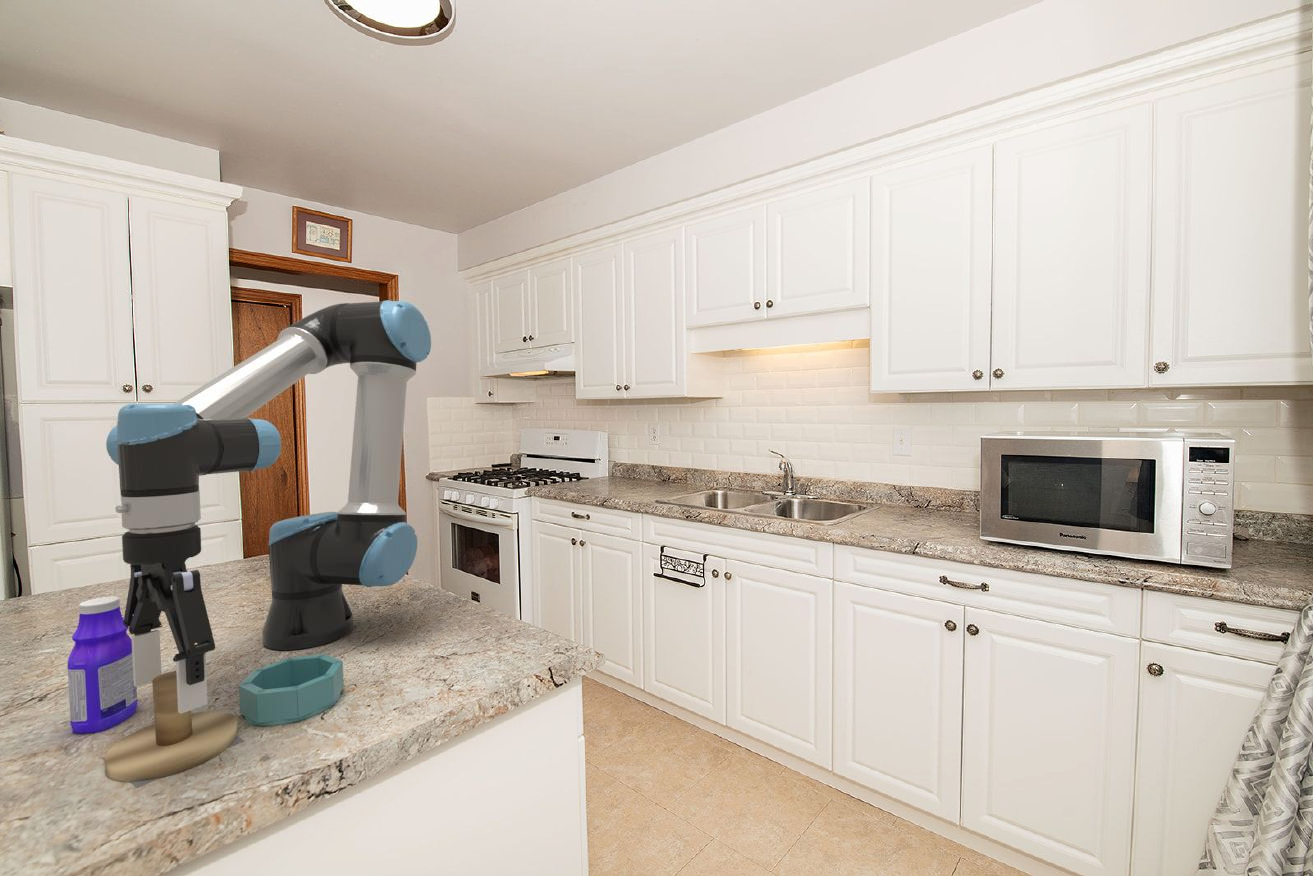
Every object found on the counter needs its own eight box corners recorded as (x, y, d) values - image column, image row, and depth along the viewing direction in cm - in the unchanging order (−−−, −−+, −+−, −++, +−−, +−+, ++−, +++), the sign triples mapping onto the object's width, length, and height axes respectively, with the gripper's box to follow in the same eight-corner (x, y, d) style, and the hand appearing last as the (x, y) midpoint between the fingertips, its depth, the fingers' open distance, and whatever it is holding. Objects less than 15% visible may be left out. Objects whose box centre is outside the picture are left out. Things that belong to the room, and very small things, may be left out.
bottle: (106, 710, 86) (98, 593, 85) (148, 708, 86) (141, 591, 85) (60, 739, 78) (51, 610, 77) (106, 736, 79) (97, 608, 78)
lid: (89, 760, 73) (83, 685, 72) (211, 712, 84) (207, 647, 83) (129, 795, 66) (123, 713, 66) (256, 739, 77) (253, 668, 77)
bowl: (228, 713, 84) (226, 679, 84) (313, 680, 95) (312, 649, 94) (271, 737, 78) (269, 700, 78) (357, 698, 88) (356, 666, 88)
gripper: (87, 523, 77) (94, 683, 78) (166, 544, 64) (174, 736, 65) (158, 514, 83) (165, 662, 84) (244, 532, 70) (250, 706, 71)
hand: (169, 694), depth 74 cm, fingers open, 13 cm apart
